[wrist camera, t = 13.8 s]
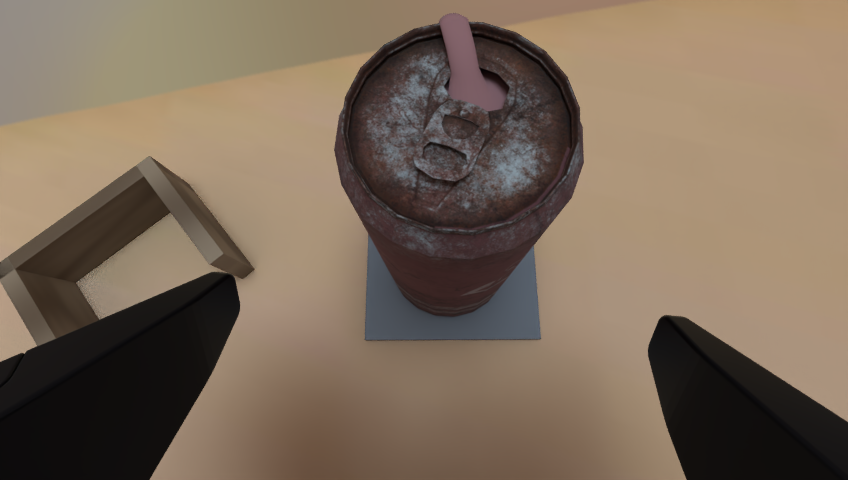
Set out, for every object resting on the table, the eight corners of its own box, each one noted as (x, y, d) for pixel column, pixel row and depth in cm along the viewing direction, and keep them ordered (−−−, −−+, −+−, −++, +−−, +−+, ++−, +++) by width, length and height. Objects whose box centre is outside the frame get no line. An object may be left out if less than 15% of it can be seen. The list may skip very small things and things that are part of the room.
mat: (539, 339, 22) (540, 338, 22) (365, 340, 22) (364, 339, 22) (527, 178, 24) (528, 176, 24) (371, 181, 25) (370, 179, 24)
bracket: (254, 269, 24) (223, 253, 20) (116, 379, 22) (58, 382, 19) (188, 183, 25) (149, 155, 22) (55, 281, 24) (-8, 267, 20)
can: (486, 192, 24) (546, -26, 11) (518, 303, 22) (639, 209, 9) (381, 216, 24) (305, 25, 10) (404, 329, 22) (349, 276, 9)
